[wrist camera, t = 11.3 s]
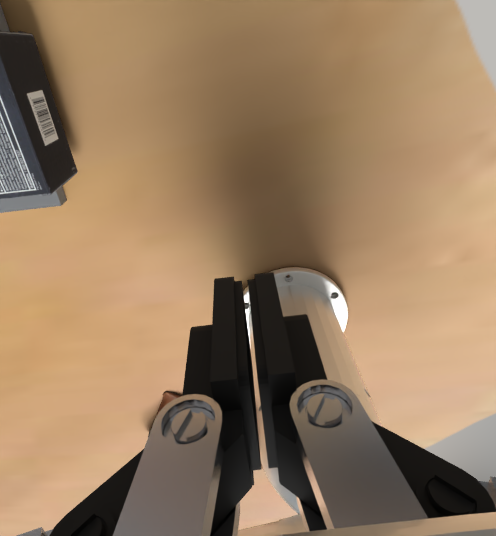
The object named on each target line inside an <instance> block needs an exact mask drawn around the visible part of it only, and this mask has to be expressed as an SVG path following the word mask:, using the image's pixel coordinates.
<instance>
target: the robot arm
mask: <svg viewBox="0 0 496 536" xmlns="http://www.w3.org/2000/svg"><path fill="white" fill-rule="evenodd" d="M286 275H289V276H286ZM245 302H246V303H245ZM347 320H348V306H347V303H346V300H345V297H344V295H343V293H342V291H341V289H340V288H339V287H338V286H337V284H336V283H335V282H334V281H333V280H331V279H330V278H329V277H328V276H326V275H324V274H322V273H320V272H318V271H315V270H312V269H308V268H300V267H290V268H282V269H278V270H274V271H271V272H269V273H261V274H255V279H253V280H248V286H247V287H246V288H245V290H244V291H243V287H242V281H236V282H235V281H234V277H227V278H218V279H215V280H214V301H213V324H212V325H206V326H197V327H192V328H191V330H190V337H189V346H188V354H187V362H186V371H185V379H184V387H183V396H181V397H179V398H176V399H174V400H172V401H171V402H169V403H168V404H166V405H165V406H164V407H163V408H162V409H161V410H160V411H159V413H158V415H157V417H156V419H155V421H154V423H153V426H152V429H151V432H150V434H149V437H148V440H147V443H146V445H145V448H144V449H143V450H142V451H141V452H140V453H139V454H137V455H136V456H135V457H134V458H133V459H131V460H130V461H129V462H128V463H127V464H126V465H124V466H123V467H122V468H121V469H120V470H119V471H117V472H116V473H115V474H114V475H113V476H111V477H110V478H109V479H108V480H107V481H106V482H104V483H103V484H102V485H101V486H100V487H98V488H97V489H96V490H95V491H94V492H93V493H91V494H90V495H89V496H88V497H87V498H85V499H84V500H83V501H82V502H81V503H80V504H78V505H77V506H76V507H75V508H74V509H73V510H71V511H70V512H69V513H68V514H67V515H66V516H65V517H64V518H63V519H62V520H61V521H60V522H59V523H58V524H57V525H56V526H55V527H54V529H52V530H49V531H46V532H44V530H43V528H42V527H41V528H38V529H35V530H32V531H29V532H26V533H23V534H20V535H17V536H496V477H490V480H489V482H482V481H478V480H477V479H476V478H474V477H473V476H471V475H470V474H468V473H466V472H465V471H464V470H462V469H460V468H458V467H456V466H455V465H453V464H451V463H449V462H447V461H445V460H443V459H441V458H440V457H438V456H436V455H434V454H432V453H430V452H428V451H426V450H425V449H423V448H421V447H419V446H417V445H415V444H413V443H412V442H410V441H408V440H406V439H404V438H402V437H400V436H399V435H397V434H395V433H393V432H391V431H389V430H387V429H385V428H384V427H383V426H382V424H381V422H380V419H379V417H378V414H377V412H376V410H375V408H374V405H373V403H372V400H371V398H370V395H369V393H368V391H367V388H366V386H365V383H364V381H363V379H362V376H361V374H360V371H359V369H358V367H357V364H356V362H355V359H354V357H353V355H352V352H351V350H350V347H349V345H348V343H347V340H346V338H345V335H344V333H343V332H344V330H345V328H346V325H347ZM261 464H262V466H263V470H264V472H265V474H266V476H267V478H268V480H269V482H270V483H271V485H272V486H273V488H274V489H275V490H276V492H277V493H278V494H279V495H280V496H281V497H282V499H283V500H284V501H285V502H286V503H287V504H288V505H289V506H290V507H291V508H292V509H293V510H295V511H296V512H297V513H298V515H295V516H292V517H288V518H285V519H281V520H279V521H277V522H273V523H268V524H264V525H259V526H255V527H251V528H246V529H242V530H238V525H239V516H240V502H239V501H240V500H241V499H242V498H243V497H244V496H245V494H246V493H247V492H248V491H249V490H250V489H251V488H252V485H254V478H253V470H260V469H261Z"/></svg>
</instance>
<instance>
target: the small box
mask: <svg viewBox="0 0 496 536" xmlns="http://www.w3.org/2000/svg"><path fill="white" fill-rule="evenodd" d="M76 173H77V169H76V166H75V163H74V160H73V156H72V154H71V151H70V148H69V144H68V141H67V138H66V135H65V132H64V129H63V126H62V123H61V120H60V117H59V113H58V110H57V107H56V104H55V101H54V98H53V95H52V92H51V89H50V86H49V82H48V79H47V76H46V73H45V70H44V67H43V64H42V61H41V57H40V54H39V51H38V48H37V45H36V42H35V39H34V36H33V35H32V34H30V33H25V32H21V31H18V32H8V31H7V32H4V31H1V30H0V199H10V198H18V197H23V196H25V197H27V196H34V195H43V196H44V195H51V194H53V193H54V192H55V191H56V190H58V189H59V188H60V187H61V186H62V185H64V184H65V183H66V182H67V181H68V180H70V179H71V178H72V177H73V176H74V175H75V174H76Z"/></svg>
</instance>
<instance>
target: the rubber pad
mask: <svg viewBox="0 0 496 536" xmlns="http://www.w3.org/2000/svg"><path fill="white" fill-rule="evenodd" d="M0 30H1V31H4V32H7V31H8V32H10V31H9V28H8V25H7V22H6V19H5V16H4V13H3V10H2V7H1V4H0ZM66 200H67V199H66V196H65V193H64V190H63V187H62V186H61V187H60V188H59V189H58V190H56V191H55V192H54V193H53V194H51V195H44V196H43V195H34V196H27V197H25V196H23V197H18V198H10V199H0V213H2V212H11V211H19V210H28V209H36V208H45V207H54V206H61V205H62V204H63V203H64V202H65V201H66Z"/></svg>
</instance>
